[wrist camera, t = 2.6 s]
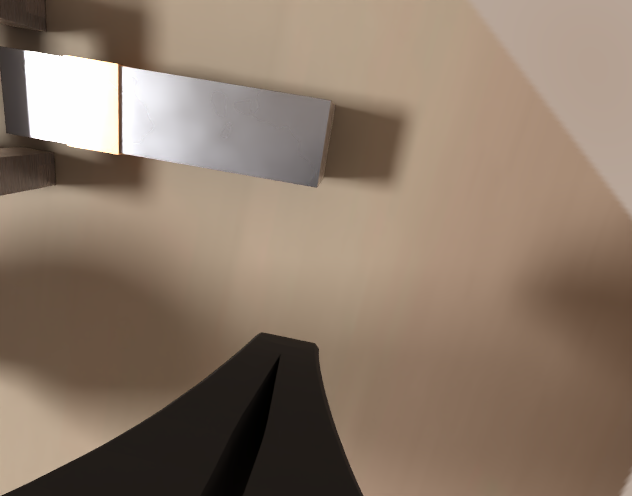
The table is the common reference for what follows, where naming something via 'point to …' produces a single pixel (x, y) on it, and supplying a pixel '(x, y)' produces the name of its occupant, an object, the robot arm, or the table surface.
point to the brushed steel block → (166, 116)
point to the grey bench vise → (19, 162)
